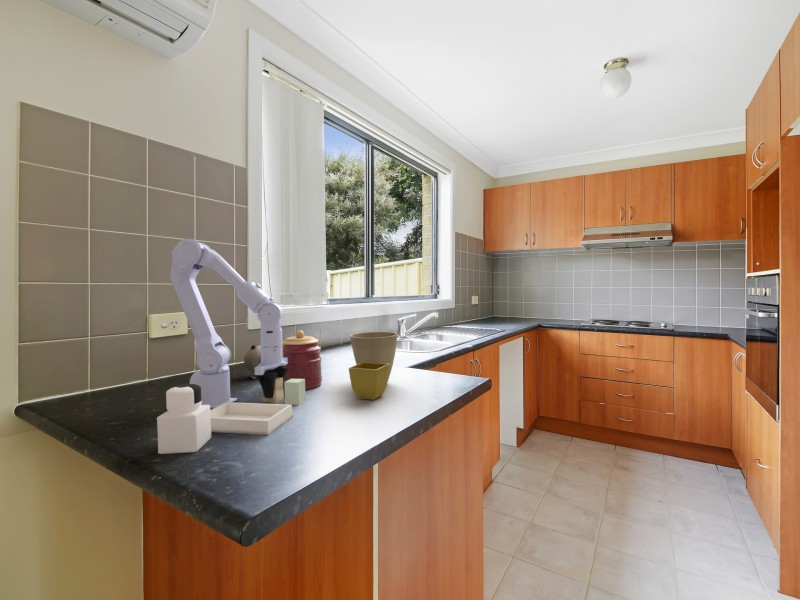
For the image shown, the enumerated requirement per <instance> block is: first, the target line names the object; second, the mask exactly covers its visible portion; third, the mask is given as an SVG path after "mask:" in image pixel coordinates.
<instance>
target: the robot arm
mask: <svg viewBox="0 0 800 600" xmlns="http://www.w3.org/2000/svg"><path fill="white" fill-rule="evenodd" d="M171 257H172V262H171V269H170V274H169V277H170V281H171V283H172V286H173V289H174V292H175V293H176V296H177V298H178V300H179V303H180V305H181V308H182V310H183V312H184V315H185V317H186V319H187V322H188V325H189V327H190V329H191V333H192V334H193V337H194V340H195V345H194V351H195V354H196V361H195V363H196V365H197V368H198V369H199V370H197V371H195V372H194V373H192V375H191V376H190V379H189V384H196V385H199V386H200V387H201V399H202V404H201V405H210V409H214V408H216V407H218V406H220V405H222V404H224V403H226V402H234V403H235V401H238V398H237V397H231V375H230V373H231V372H230V367H229V365H228V363H229V362H230V360H231V357H232V352H231V349H230V348H229V347H228V346H227V345H225V343H224V341H223V339H222V337H221V336H219V334H217V332H216V330H215V327H214V325H213V322H212V320H211V318H210V317H211V316H210V315H209V312H208V310H207V307H206V305H205V303H204V299H203V297H202V295H201V293H200V290H199V287H198V285H197V283H196V280H195V279H196V277H197V275H198V274H199V272H200V271H201V270H202V269H203V268H204V267H205V268H209V269H212V270H214V271H215V272H216V273H217V274H218V275H220V276H221V277H222V278H223V279H224V280H225V281H227V282H228V283H229V285H231V287H233V288H235V290H236V297H237V298H238V299H239V300H240V301H241V302H243V304H244V305H245V306H246V307H248V309H250V310H251V311H252V312H253V313H255V314H256V317H257V318H258V319H257V320H258V321H259V322H260V331H259V333H260V345H261V363H260V364H259V365H258V366H257V367H255V376H256V378H257V379H256V380H258V382H259V385H260V387H261V389H262V390H263V393H264V396H265V398H273V395H274V384H275V380H276V377H283V381H284V378H285V375H286V373H287V371H288V367H287V366H283V365H286V364H288V358H287V357H283V344H282V341H283V328H282V320H281V319H282V317H283V314H284V313H283V307H281V305H280V303H278V302H276V301H274V298H273V297H272V296H271V297H270V296H268V294H266V292H265V291H263V290H262V289H261V288H262V285H261V284H260V283H255V282H254V281H246V280H245V279H244V278H243V277H242V276H241V274H239V273H238V272H237V271H236V270H235V268H233V267H232V266H231V265H230V264H229V263H228V262H227V261H226V260H225V258H223V256H222V255H220V254H219V253H218V252H217V251H215V249H212V248H211V247H210V246H209V245H208V244H206V243H204V242H199V241H196V240H195V239H192V238H185V239H184V238H183V239H182V240H180V241H178V242H177V244H176V246H175V247H174V248H173V250H172V251H171ZM263 393H262V394H263Z"/></svg>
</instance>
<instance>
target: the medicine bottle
mask: <svg viewBox="0 0 800 600" xmlns="http://www.w3.org/2000/svg"><path fill="white" fill-rule="evenodd" d="M165 400H166V410H167V411H165V412H163V413H162V414H159V416H157V417H156V431H157V432H156V434H157V453H158V454H159V455H167V454H183V453H184V454H188V453H189V454H190V453H196V452H198V451H199V450H200V449H201V448H202V447H203V446H204V445H206V444H207V443H208V442H209V440H211V438H212V432H211V415H210V410H211V408H210V405H201V404H202V399H201V387H200V386H199V385H196V384H190V383H183V384H177V385H174V386H172V387H170V388H168V389H167V390H166V391H165Z"/></svg>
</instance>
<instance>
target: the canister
mask: <svg viewBox="0 0 800 600" xmlns="http://www.w3.org/2000/svg"><path fill="white" fill-rule="evenodd" d="M318 343H319V339H317V338H315V337H314V336H312V335H311V336H310V335H305V332H304V331H303V330H301V329H299V330H297V331H296V332H295V336H289V337H286V338H285V339H284V340H282V344H283V345H282V346H283V357H287V358H288V364H286V365H283V366H287V367H288V371H287V373H286V375H285V378H284V381H283V390H285V384H284V382H286V381H288V380H290V379H305V391H306V390H312V389H315V388H318V387H320V386H321V385H322V382H323V375H322V357H321V355H320V353H321V352H320V351H321V350H322V347H321V346H320V345H319V344H318Z"/></svg>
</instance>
